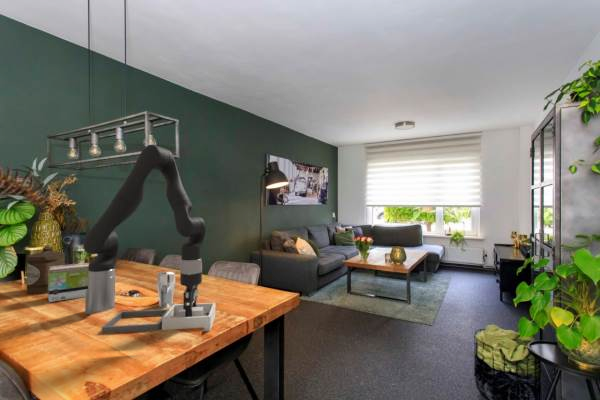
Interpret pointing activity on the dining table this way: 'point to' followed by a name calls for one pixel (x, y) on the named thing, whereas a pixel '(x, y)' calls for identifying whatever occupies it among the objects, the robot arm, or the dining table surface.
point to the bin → (189, 318)
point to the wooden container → (41, 269)
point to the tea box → (67, 281)
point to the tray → (131, 328)
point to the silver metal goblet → (166, 288)
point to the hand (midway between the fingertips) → (190, 315)
